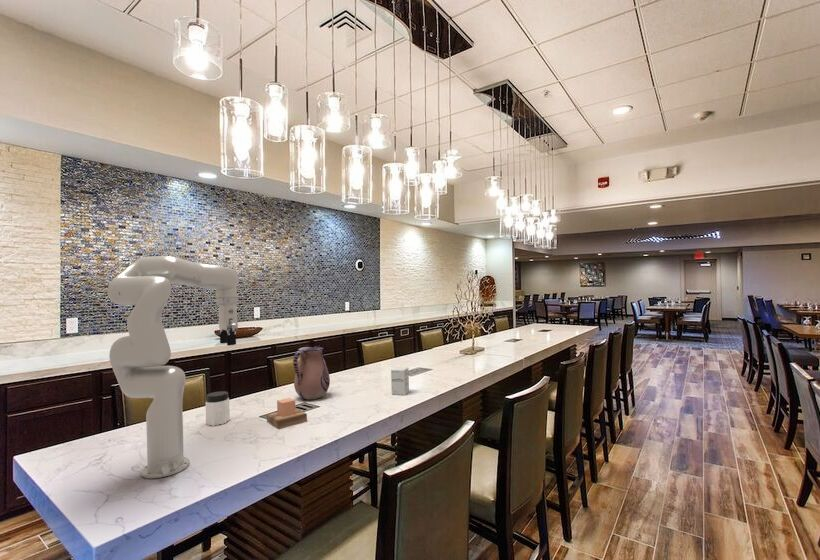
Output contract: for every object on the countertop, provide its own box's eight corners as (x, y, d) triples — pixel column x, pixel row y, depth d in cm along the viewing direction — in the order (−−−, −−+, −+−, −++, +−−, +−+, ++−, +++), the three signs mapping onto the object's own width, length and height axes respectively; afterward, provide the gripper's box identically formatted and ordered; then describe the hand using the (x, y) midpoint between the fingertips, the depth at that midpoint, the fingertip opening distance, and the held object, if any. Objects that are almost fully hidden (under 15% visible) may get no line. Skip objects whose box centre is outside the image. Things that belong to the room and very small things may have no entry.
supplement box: (391, 395, 195) (390, 369, 195) (396, 391, 202) (395, 366, 202) (405, 395, 192) (404, 370, 193) (409, 391, 200) (408, 367, 200)
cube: (295, 413, 160) (295, 400, 160) (282, 416, 156) (282, 403, 156) (290, 410, 164) (289, 397, 164) (277, 413, 161) (277, 400, 161)
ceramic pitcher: (336, 393, 202) (334, 345, 203) (315, 405, 182) (314, 351, 182) (306, 392, 207) (304, 345, 207) (283, 403, 186) (281, 351, 187)
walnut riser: (307, 421, 160) (306, 413, 160) (278, 428, 152) (278, 420, 152) (294, 414, 169) (294, 407, 169) (267, 421, 161) (266, 414, 161)
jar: (207, 427, 157) (206, 397, 157) (205, 422, 163) (204, 393, 164) (231, 422, 161) (230, 393, 162) (228, 417, 168) (227, 390, 169)
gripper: (243, 301, 153) (244, 344, 153) (230, 301, 166) (231, 341, 166) (222, 302, 148) (224, 347, 148) (211, 302, 162) (212, 343, 161)
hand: (228, 344), depth 157 cm, fingers open, 9 cm apart
